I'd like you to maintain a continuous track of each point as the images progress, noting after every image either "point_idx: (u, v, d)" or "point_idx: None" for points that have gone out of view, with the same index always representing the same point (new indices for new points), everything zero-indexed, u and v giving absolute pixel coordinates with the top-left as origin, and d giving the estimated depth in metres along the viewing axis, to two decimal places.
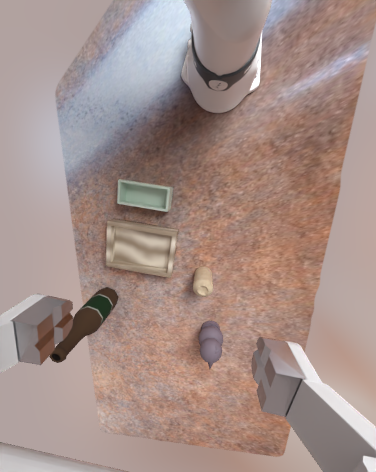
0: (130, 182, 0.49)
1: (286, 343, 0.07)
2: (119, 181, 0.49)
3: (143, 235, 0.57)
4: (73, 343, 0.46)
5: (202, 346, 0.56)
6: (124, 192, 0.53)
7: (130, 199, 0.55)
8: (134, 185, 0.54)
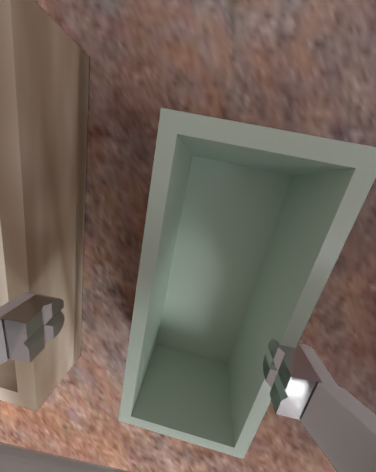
0: (326, 259, 0.06)
1: (298, 345, 0.07)
2: (362, 160, 0.05)
3: None
4: None
5: None
6: (240, 161, 0.08)
7: (195, 183, 0.10)
8: (266, 216, 0.10)
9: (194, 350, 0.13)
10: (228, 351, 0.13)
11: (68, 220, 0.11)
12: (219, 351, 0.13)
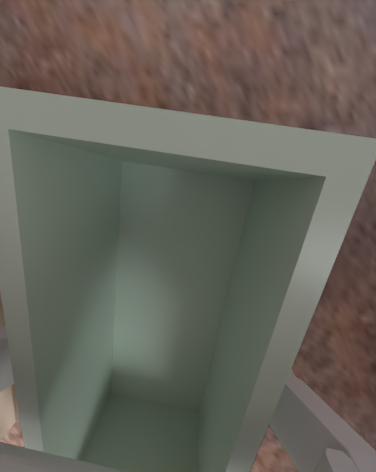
0: (291, 326, 0.04)
1: None
2: (338, 162, 0.03)
3: None
4: None
5: None
6: (175, 166, 0.06)
7: (131, 197, 0.08)
8: (226, 234, 0.08)
9: (157, 398, 0.11)
10: (198, 398, 0.10)
11: None
12: (187, 398, 0.10)
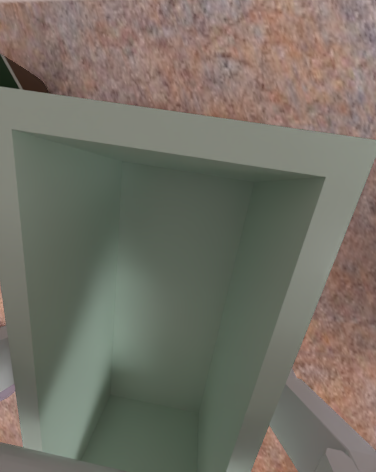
0: (292, 326, 0.04)
1: None
2: (337, 163, 0.03)
3: None
4: None
5: None
6: (175, 167, 0.06)
7: (131, 197, 0.08)
8: (226, 235, 0.08)
9: (157, 400, 0.11)
10: (198, 399, 0.10)
11: None
12: (187, 400, 0.10)
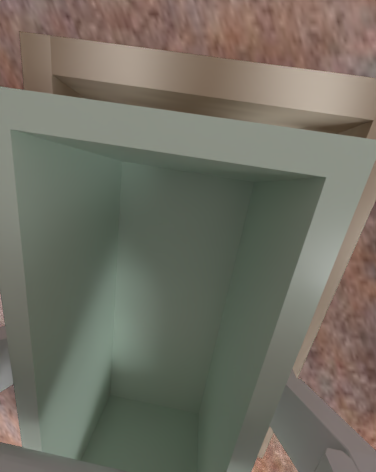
0: (292, 327, 0.04)
1: None
2: (337, 163, 0.03)
3: None
4: None
5: None
6: (175, 167, 0.06)
7: (131, 197, 0.08)
8: (226, 235, 0.08)
9: (157, 400, 0.11)
10: (198, 400, 0.10)
11: None
12: (187, 400, 0.10)
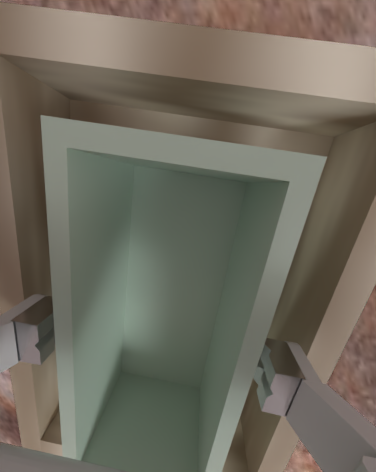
0: (270, 291, 0.05)
1: (285, 343, 0.07)
2: (297, 172, 0.04)
3: None
4: None
5: None
6: (180, 171, 0.07)
7: (142, 196, 0.09)
8: (224, 228, 0.09)
9: (162, 376, 0.12)
10: (199, 375, 0.12)
11: None
12: (189, 376, 0.12)
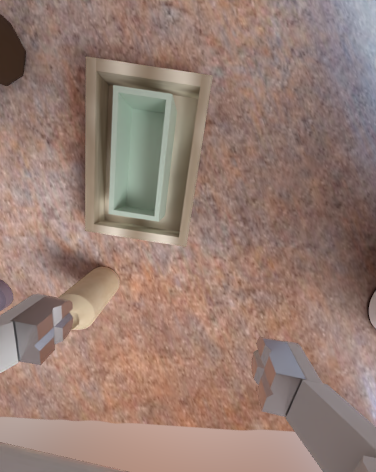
0: (165, 128, 0.21)
1: (285, 343, 0.07)
2: (167, 97, 0.20)
3: (173, 166, 0.27)
4: None
5: None
6: (147, 107, 0.23)
7: (134, 120, 0.25)
8: None
9: (144, 206, 0.28)
10: None
11: None
12: (156, 205, 0.28)
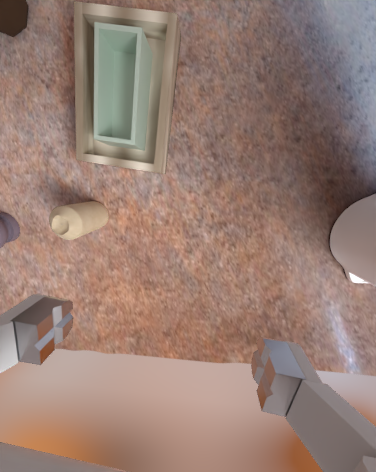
0: (137, 59, 0.25)
1: (286, 343, 0.07)
2: (138, 31, 0.24)
3: (150, 104, 0.31)
4: None
5: None
6: (125, 46, 0.27)
7: (117, 62, 0.29)
8: None
9: None
10: None
11: (172, 96, 0.30)
12: None
